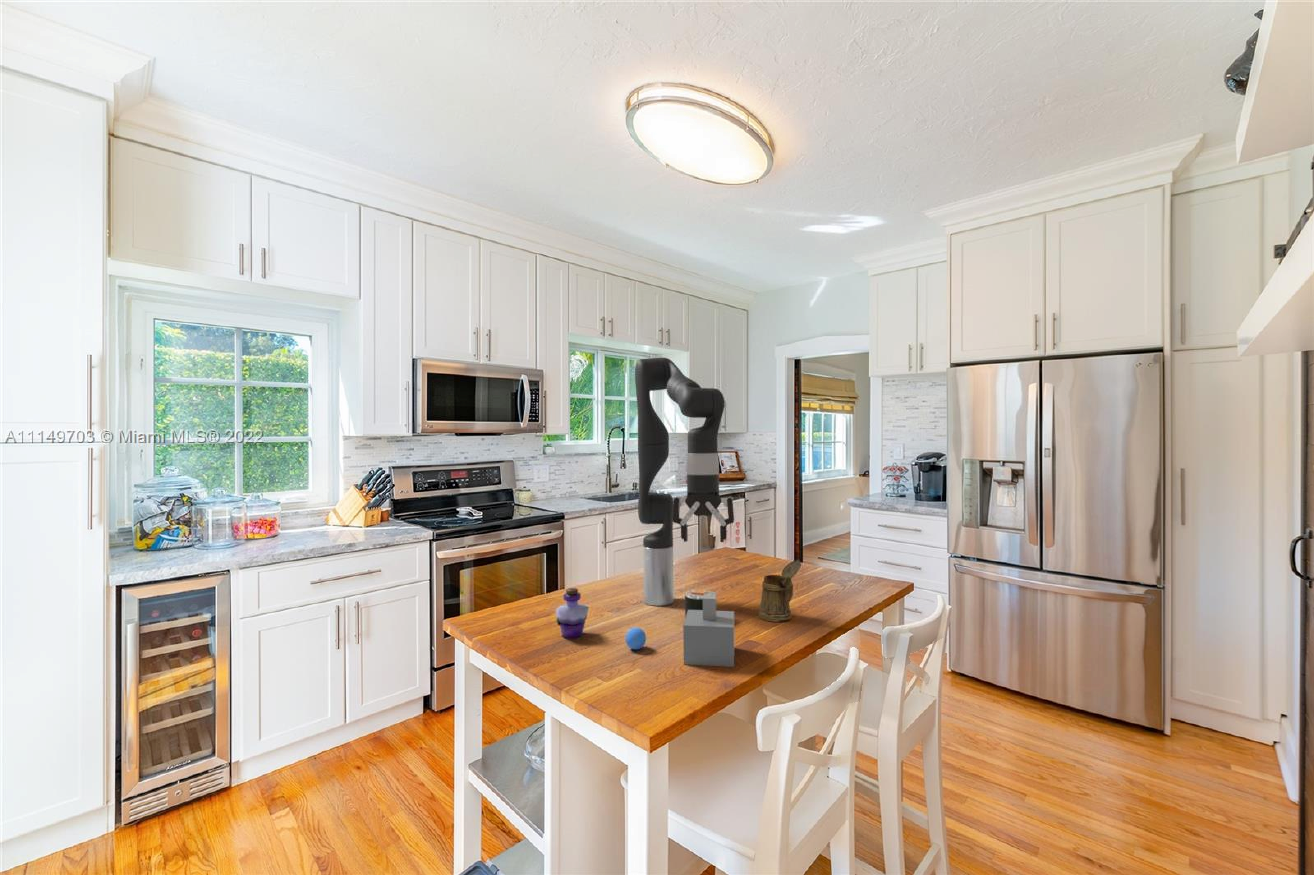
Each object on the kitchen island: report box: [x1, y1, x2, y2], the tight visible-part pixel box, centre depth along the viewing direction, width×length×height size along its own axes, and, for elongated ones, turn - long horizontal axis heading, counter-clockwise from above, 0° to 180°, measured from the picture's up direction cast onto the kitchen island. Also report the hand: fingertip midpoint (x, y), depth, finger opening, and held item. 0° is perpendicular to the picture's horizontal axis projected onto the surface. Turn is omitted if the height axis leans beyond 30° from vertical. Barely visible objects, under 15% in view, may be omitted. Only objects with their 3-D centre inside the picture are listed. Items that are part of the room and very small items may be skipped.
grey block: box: [682, 595, 735, 668], centre depth 131 cm, size 11×11×14 cm
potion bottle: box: [555, 587, 590, 640], centre depth 145 cm, size 9×9×12 cm
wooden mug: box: [758, 558, 802, 623], centre depth 156 cm, size 9×14×18 cm, turn 31°
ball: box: [624, 627, 647, 650], centre depth 136 cm, size 5×5×5 cm
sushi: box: [684, 589, 717, 619], centre depth 156 cm, size 8×8×8 cm
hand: (703, 541), depth 132 cm, fingers open, 8 cm apart
